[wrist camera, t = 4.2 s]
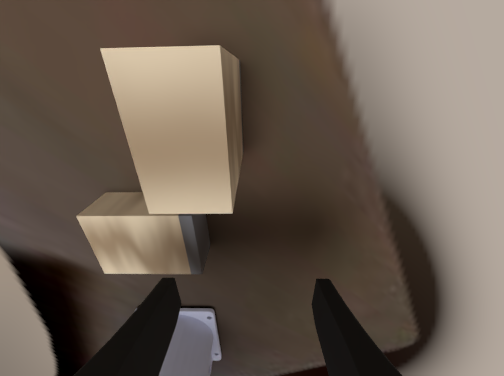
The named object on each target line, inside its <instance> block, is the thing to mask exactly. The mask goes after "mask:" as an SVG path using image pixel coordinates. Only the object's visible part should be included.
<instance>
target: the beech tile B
mask: <svg viewBox="0 0 504 376" xmlns="http://www.w3.org/2000/svg"><path fill="white" fill-rule="evenodd" d="M100 50H101V53H102V56H103V60H104V63H105V66H106V70H107V73H108V77H109V80H110V83H111V87H112V90H113V93H114V97H115V100H116V104H117V107H118V110H119V114H120V117H121V120H122V124H123V127H124V131H125V134H126V137H127V141H128V144H129V147H130V151H131V154H132V157H133V161H134V164H135V168H136V171H137V174H138V178H139V181H140V184H141V188H142V191H143V195H144V198H145V201H146V205H147V208H148V211H149V214H233V208H234V202H235V197H236V191H237V185H238V180H239V174H240V168H241V163H242V157H243V151H244V148H243V123H242V97H241V71H240V60H239V59H237V58H236V57H235V56H233V55H232V54H231V53H229V52H228V51H227V50H225V49H224V48H223V47H221V46H220V45H217V46H177V47H138V48H100Z"/></svg>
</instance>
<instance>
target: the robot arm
mask: <svg viewBox="0 0 504 376" xmlns="http://www.w3.org/2000/svg"><path fill="white" fill-rule="evenodd" d="M180 307H181V300H180V296H179V292H178V289H177V285H176V281H175V278H162V279H161V280H160V281H159V283H158V284H157V285H156V286H155V288H154V289H153V290H152V291H151V293H150V294H149V295H148V296H147V298H146V299H145V300H144V301H143V302H142V304H141V305H140V306H139V307H138V308H136V309H135V311H134V313H133V314H132V315H131V317H130V318H129V319H128V320H127V321H126V322H125V323H124V325H123V326H122V327H121V328H120V329H119V330H118V331H117V332H116V333H115V334H114V335H113V337H112V338H111V339H110V340H109V341H108V342H107V343H106V344H105V345H104V346H103V347H102V348H101V349H100V350H99V351H98V352H97V353H96V354H95V355H94V356H93V357H92V358H91V359H90V360H89V361H88V362H87V363H86V364H85V365H84V366H83V367H82V368H81V369H80V370H79V371H78V372H77V373H76V374H75V375H73V376H210V374H211V368H212V361H219V360H221V357H222V354H221V348H220V342H219V336H218V330H217V324H216V318H215V312H214V310H213V309H211V308H180ZM312 309H313V315H314V320H315V326H316V330H317V334H318V337H319V341H320V345H321V348H322V352H323V356H324V359H325V363H326V366H327V370H328V373H329V376H402V375H401V374H400V373H399V371H398V370H397V369H396V368H395V367H394V366H393V365H392V363H391V362H390V361H389V360H388V359H387V358H386V356H385V355H384V354H383V353H382V351H381V350H380V349H379V348H378V347H377V345H376V344H375V343H374V342H373V340H372V339H371V338H370V337H369V335H368V334H367V333H366V331H365V330H364V329H363V327H362V326H361V325H360V323H359V322H358V321H357V319H356V318H355V316H354V315H353V314H352V312H351V311H350V309H349V308H348V307H347V305H346V304H345V302H344V301H343V299H342V298H341V296H340V295H339V293H338V292H337V290H336V288H335V287H334V285H333V284H332V282H331V280H329V279H316V284H315V290H314V295H313V300H312Z"/></svg>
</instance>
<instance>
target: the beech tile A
mask: <svg viewBox="0 0 504 376" xmlns="http://www.w3.org/2000/svg"><path fill="white" fill-rule="evenodd" d="M76 217H77V219H78V221H79V223H80V225H81V227H82V229H83V231H84V233H85V235H86V237H87V239H88V241H89V243H90V245H91V247H92V249H93V251H94V253H95V255H96V257H97V259H98V261H99V263H100V265H101V267H102V269H103V271H104V273H105V274H203V270H204V266H205V263H206V259H207V256H208V252H209V248H210V239H209V232H208V225H207V218H206V214H149V211H148V208H147V205H146V201H145V198H144V195H143V192H106V193H105V194H104V195H102V196H101V197H100V198H99V199H97V200H96V201H95V202H93V203H92V204H91V205H90V206H88V207H87V208H86V209H85V210H83V211H82V212H81V213H80V214H78V215H77V216H76Z"/></svg>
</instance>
